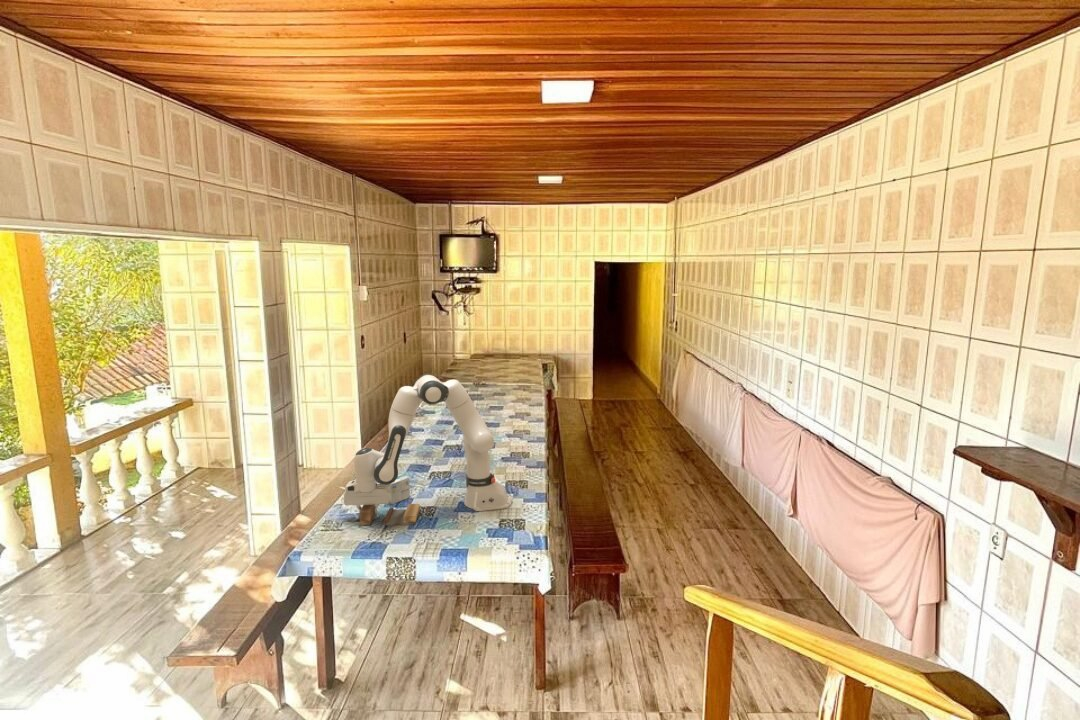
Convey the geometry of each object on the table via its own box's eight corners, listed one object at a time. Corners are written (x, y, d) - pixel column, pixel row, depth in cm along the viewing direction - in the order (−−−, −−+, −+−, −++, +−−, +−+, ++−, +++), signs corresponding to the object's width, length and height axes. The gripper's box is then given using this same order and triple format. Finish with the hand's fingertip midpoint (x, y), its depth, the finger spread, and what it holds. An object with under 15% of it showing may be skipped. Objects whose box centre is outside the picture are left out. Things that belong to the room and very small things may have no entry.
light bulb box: (402, 493, 276) (401, 473, 274) (410, 497, 272) (409, 476, 270) (384, 501, 268) (382, 480, 266) (392, 505, 264) (391, 483, 261)
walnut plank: (377, 512, 256) (376, 500, 254) (370, 524, 244) (369, 512, 243) (367, 512, 255) (366, 500, 254) (360, 525, 244) (359, 512, 242)
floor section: (419, 511, 257) (419, 503, 256) (415, 524, 244) (414, 516, 244) (390, 511, 256) (390, 503, 256) (384, 525, 244) (383, 517, 243)
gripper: (391, 480, 250) (393, 509, 253) (345, 481, 249) (347, 510, 252) (388, 486, 244) (390, 515, 247) (341, 487, 243) (343, 516, 246)
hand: (368, 512), depth 249 cm, fingers closed on walnut plank, 4 cm apart
